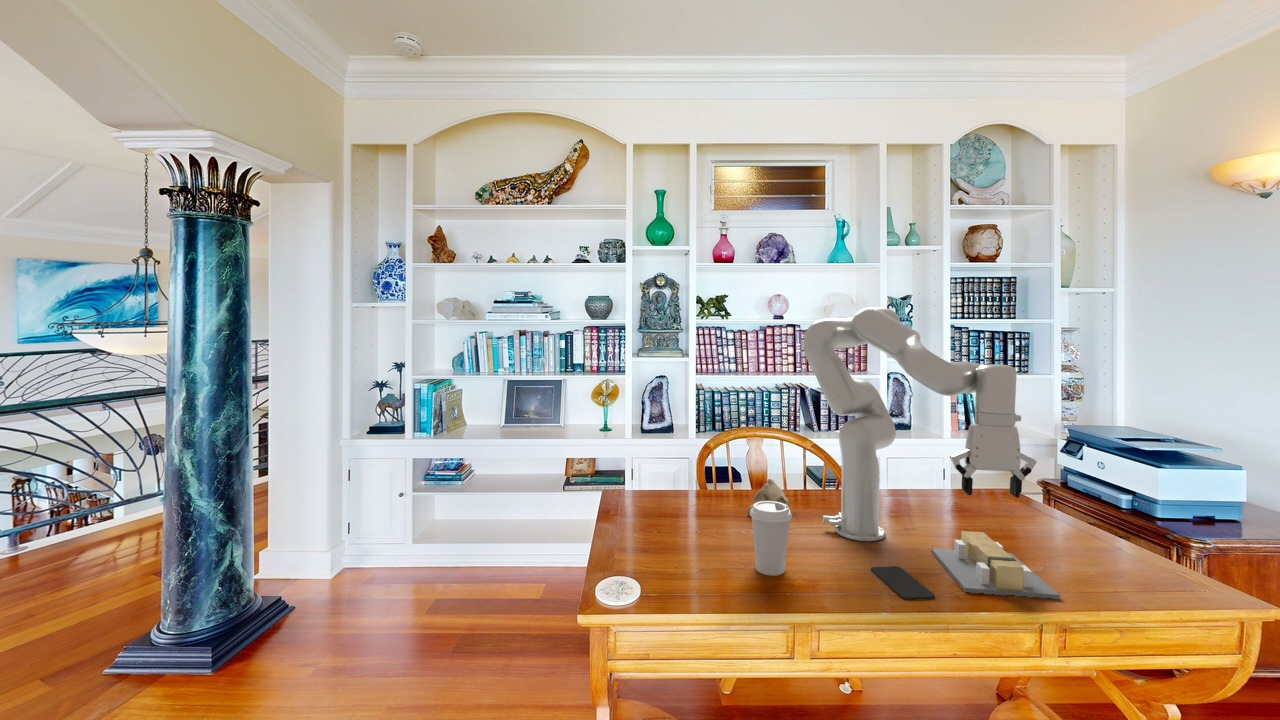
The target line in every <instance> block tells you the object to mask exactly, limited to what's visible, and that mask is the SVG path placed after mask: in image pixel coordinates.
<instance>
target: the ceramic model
mask: <svg viewBox="0 0 1280 720" xmlns="http://www.w3.org/2000/svg"><path fill="white" fill-rule="evenodd" d="M785 495H786V494H785V493H784V491H783V490H782V488H781V487H780V486H779V485H778V484H777V483H776V482H775V480H773V479H770V478H768V479H767V481H766V483H765V484H763V485H762V487H761V488H760V489H759V490H757V492H756V493H755V494H754V496H753V498H752V499H753V501H754V503H753V504H751V505H750V506H749V507H748V513H749V514H750V511H751V509H752V508H753V505H754V504H755V503H757V502H760V501H775V502H780V503H783V504H785V505H787V506H788V503H789V502H790V501H789V498H788V497H786V496H785ZM789 510H790V512H792V509H790V508H789Z"/></svg>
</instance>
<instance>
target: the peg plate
mask: <svg viewBox="0 0 1280 720" xmlns="http://www.w3.org/2000/svg"><path fill="white" fill-rule="evenodd" d="M994 542H995V543H996V544H998V545H999V546H1000V547H1001V548H1002V549H1003V550H1004V546H1003V545H1002V544H1000V543H999V541H994ZM1007 553H1008V554H1009V555H1010V556H1011V557H1012V558H1014V559H1015V560H1016V561H1017V562H1018V563H1019V564H1020V565H1021V566H1022V567H1023V568H1024V573H1023V591H1016V590H1003V589H996V588H995V587H994V586H993V585H992V584H991V583H990V582H989V577H990V568H989V567H988V566H987V565H986V564H985V563H980V562H976V567H975V566H974V564H973V563H972V562H971V561H970V560H969V559H968V558H967V557H966V556H965V554H966V545H965V544H964V543H963V542H962V541H961V539H953V549H947V548H946V549H945V548H931V554H932V555H933V556H934V557H935V559H936V560H937V561H938V562H939V563H940V564H941V565H942V567H943V568H944V570H945V571H947V573H948V574H949V575H950V577H951V578H952V579H953V580H954V581H955V582H957V583H956V584H957V585H958V586H959V587H960V588H962V589H963V590H962V589H961V590H962V591H963V592H964V593H965V592H970V593H969V594H979V593H984V594H983V595H992V594H994V595H993V596H1006V595H1015V596H1014V597H1019V596H1027V597H1026V598H1033V597H1040V598H1039V599H1046V598H1052V599H1051V600H1059V599H1060V600H1061V594H1060V593H1059V592H1057V590H1055V589H1054V588H1052V586H1050V585H1049V584H1048V583H1047V582H1045V581H1044V579H1042V578H1041V577H1040V576H1038V574H1036V573H1035V572H1034V571H1033V570H1032V569H1031V568H1029V567H1028V566H1027V565H1026V564H1025V563H1023V562H1022V561H1021V560H1020V559H1019V558H1017V556H1016V555H1014V554H1013V553H1011V552H1007ZM1029 596H1030V597H1029Z"/></svg>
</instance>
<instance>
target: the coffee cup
mask: <svg viewBox="0 0 1280 720" xmlns="http://www.w3.org/2000/svg"><path fill="white" fill-rule="evenodd" d="M753 504H754V505H753V508H752V509H751V511H750V513H749V516H750V517H751V525H752V535H753V545H754V561H755V570H756V571H757V572H758V573H760V574H762V575H765V576H769V577H770V576H775V577H776V576H781V575H783V574H784V573H785V571H786V559H787V550H788V540H789V530H790V520H792V519H793V516H792V511H790V510H789V509H790V507H789V505H788V504H787V505H785V504H783V503H780V502H775V501H760V502H757V503H755V502H754V503H753Z"/></svg>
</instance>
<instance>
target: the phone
mask: <svg viewBox="0 0 1280 720" xmlns="http://www.w3.org/2000/svg"><path fill="white" fill-rule="evenodd" d="M870 572H872V574H874V575H875V576H876V577H877V578H878V579H879V580H880V581H881V582H882V583H884V585H886V586H887V587H888V588H889V589H890V590H891V591H892V592H893V593H895V595H896V596H897V597H899V598H901V599H902V600H903V601H918V599H925V600H934V599H936V594H934V592H932V591H931V590H930V589H928V588H927V587H926V586H924V585H923V584H922V583H921V582H920V581H918V579H916V578H915V577H913V576H912V575H911V574H910V573H909V572H907V571H906V570H904V569H903V568H902V567H900V566H894V565H892V566H889V565H888V566H872V567H871V568H870Z"/></svg>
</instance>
